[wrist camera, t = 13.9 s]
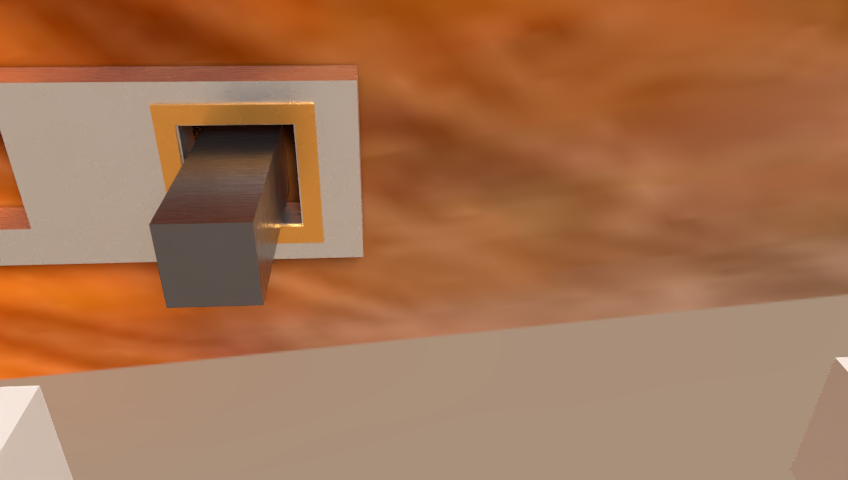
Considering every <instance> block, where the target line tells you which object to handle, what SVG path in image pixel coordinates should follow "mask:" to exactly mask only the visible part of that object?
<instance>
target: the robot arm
mask: <svg viewBox="0 0 848 480" xmlns="http://www.w3.org/2000/svg"><path fill="white" fill-rule="evenodd" d="M790 471H791V473H792V474H793V475H794V477H795V479H796V480H848V357H842V358H835V360H834V362H833V365H832V367H831V370H830V372H829V375H828V377H827V380H826V382H825V384H824V387H823V389H822V392H821V394H820V397H819V399H818V402H817V404H816V407H815V409H814V412H813V414H812V416H811V419H810V421H809V424H808V427H807V429H806V431H805V434H804V436H803V439H802V441H801V444H800V446H799V448H798V451H797V453H796V456H795V458H794V461H793V463H792V466H791V468H790ZM0 480H73V479H72V476H71V474H70V470H69V468H68V465H67V462H66V459H65V456H64V453H63V451H62V448H61V445H60V442H59V440H58V437H57V434H56V431H55V428H54V425H53V422H52V420H51V417H50V414H49V411H48V408H47V405H46V402H45V400H44V397H43V394H42V391H41V388H40V386H13V387H0Z"/></svg>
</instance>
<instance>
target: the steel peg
mask: <svg viewBox="0 0 848 480" xmlns="http://www.w3.org/2000/svg"><path fill="white" fill-rule="evenodd" d="M288 193H289V183H288V172H287V161H286V151H285V140H284V129H283V125H205V126H204V128H203V129H202V131H201V133H200V135H199V136H198V138H197V140H196V142H195V144H194V145H193V147H192V149H191V151H190V152H189V154H188V156H187V158H186V160H185V161H184V163H183V165H182V167H181V168H180V170H179V172H178V174H177V176H176V177H175V179H174V181H173V183H172V185H171V186H170V188H169V190H168V192H167V193H166V195H165V197H164V199H163V201H162V202H161V204H160V206H159V208H158V209H157V211H156V213H155V215H154V217H153V218H152V220H151V222H150V224H149V227H150V232H151V236H152V241H153V246H154V250H155V255H156V260H157V264H158V269H159V274H160V278H161V283H162V288H163V292H164V297H165V302H166V306H167V308H177V307H212V306H248V305H263V304H264V300H265V295H266V291H267V287H268V282H269V278H270V273H271V269H272V264H273V260H274V255H275V251H276V246H277V242H278V237H279V233H280V229H281V224H282V220H283V215H284V211H285V206H286V202H287V197H288Z"/></svg>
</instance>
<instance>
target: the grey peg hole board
mask: <svg viewBox="0 0 848 480" xmlns="http://www.w3.org/2000/svg"><path fill="white" fill-rule="evenodd" d="M287 124H293V125H294V137H295V148H296V160H297V171H298V183H299V195H300V202H286V206H285V211H284V215H283V220H282V224H281V229H280V233H279V237H278V242H277V246H276V251H275V255H274V259H297V258H339V257H363V206H362V177H361V148H360V119H359V91H358V65H334V66H157V67H0V131H1V134H2V137H3V141H4V144H5V147H6V150H7V153H8V157H9V160H10V163H11V166H12V169H13V172H14V176H15V179H16V182H17V185H18V188H19V192H20V195H21V198H22V201H23V204H24V207H10V208H0V266H5V265H47V264H88V263H130V262H157V260H156V255H155V250H154V246H153V241H152V236H151V232H150V227H149V224H150V222H151V220H152V218H153V217H154V215H155V213H156V211H157V209H158V208H159V206H160V204H161V202H162V201H163V199H164V197H165V195H166V193H167V192H168V190H169V188H170V186H171V185H172V183H173V181H174V179H175V177H176V176H177V174H178V172H179V170H180V168H181V167H182V165H183V163H184V161H185V160H186V158H187V156H188V154H189V152H190V151H191V149H192V147H193V145H194V144H195V140H194V134H193V128H192V126H197V125H287Z"/></svg>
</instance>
